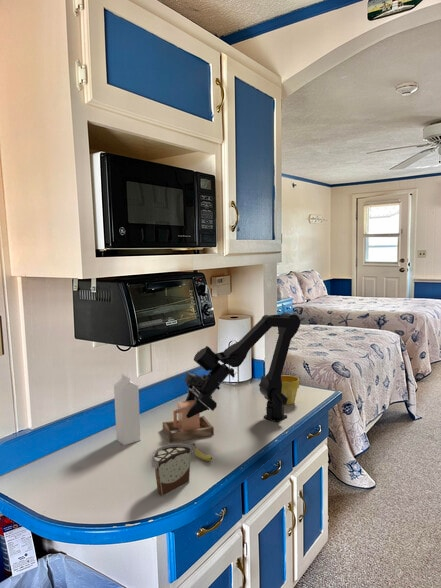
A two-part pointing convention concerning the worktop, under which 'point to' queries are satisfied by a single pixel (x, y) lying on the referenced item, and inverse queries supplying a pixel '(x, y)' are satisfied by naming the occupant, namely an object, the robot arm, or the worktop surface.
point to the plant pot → (289, 387)
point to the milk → (127, 411)
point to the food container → (171, 467)
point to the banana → (201, 455)
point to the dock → (190, 433)
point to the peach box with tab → (183, 421)
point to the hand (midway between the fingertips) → (184, 413)
